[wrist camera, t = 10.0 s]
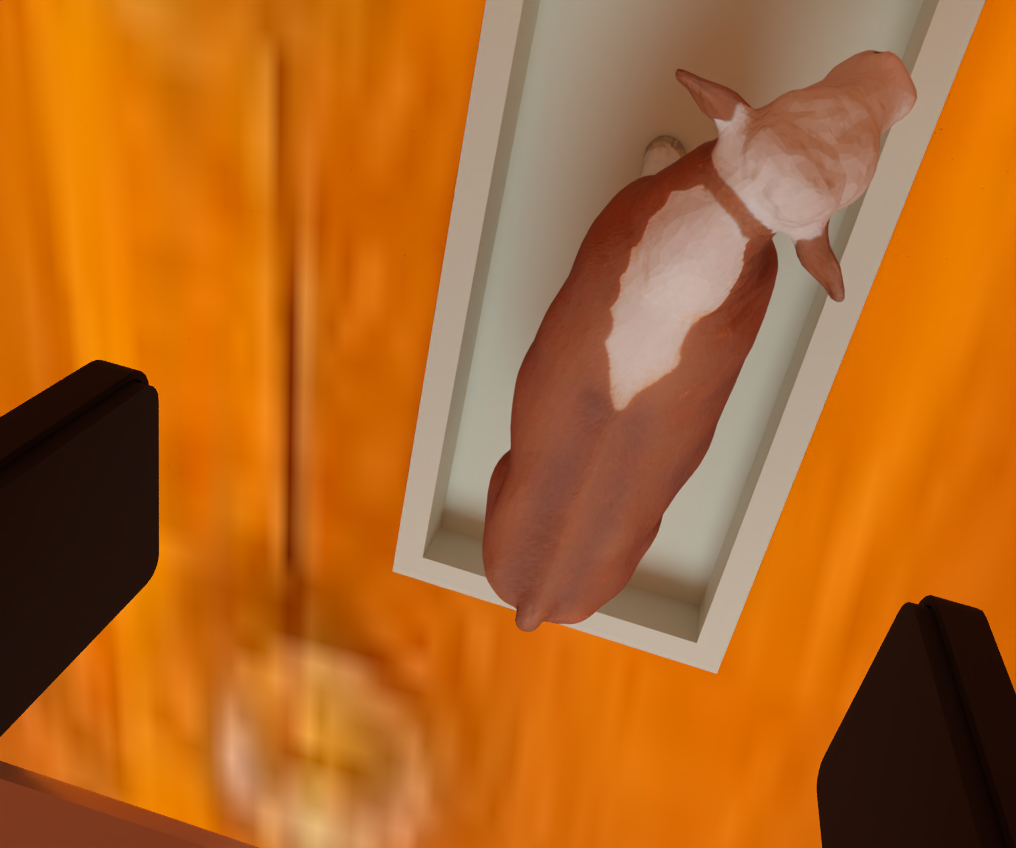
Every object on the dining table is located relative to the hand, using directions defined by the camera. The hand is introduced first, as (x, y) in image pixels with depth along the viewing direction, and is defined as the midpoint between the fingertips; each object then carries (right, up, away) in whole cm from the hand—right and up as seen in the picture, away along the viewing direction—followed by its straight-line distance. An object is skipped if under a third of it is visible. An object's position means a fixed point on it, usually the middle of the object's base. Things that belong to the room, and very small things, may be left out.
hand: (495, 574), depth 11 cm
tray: (+4, +5, +13) cm, 14 cm away
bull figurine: (+4, +5, +12) cm, 13 cm away
